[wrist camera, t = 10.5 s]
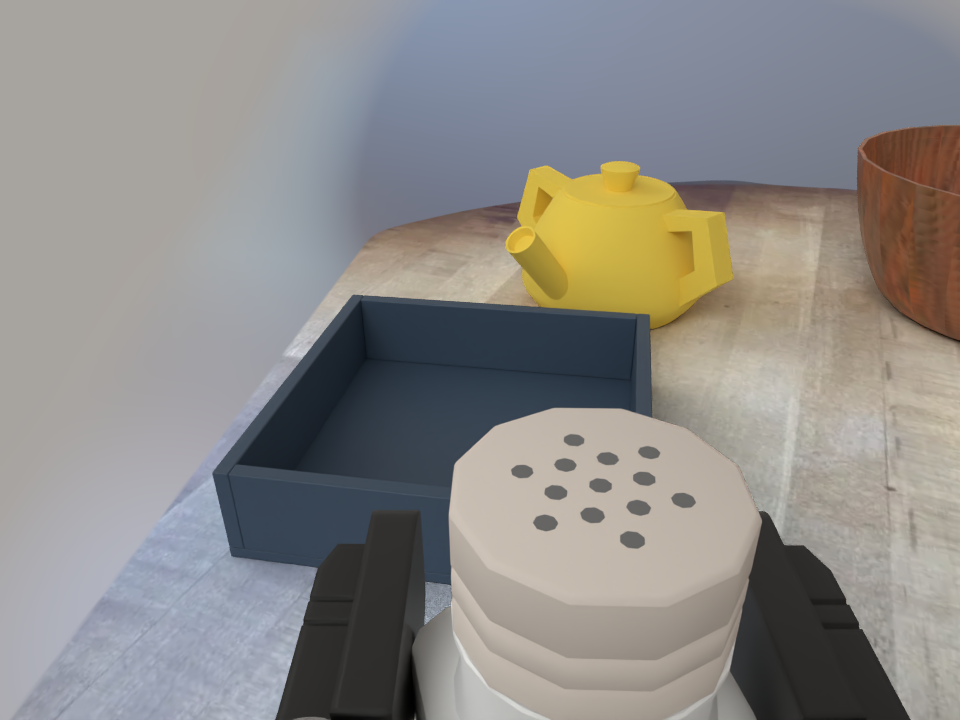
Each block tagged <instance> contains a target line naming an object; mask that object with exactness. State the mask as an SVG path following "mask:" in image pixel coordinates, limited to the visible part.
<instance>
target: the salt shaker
mask: <svg viewBox="0 0 960 720" xmlns="http://www.w3.org/2000/svg"><path fill="white" fill-rule="evenodd" d="M761 524H762V519H761V517H760V514H759V512H758V510H757V507H756V505H755V503H754V500H753V498H752V496H751V493H750V491H749V489H748V486H747V484H746V482H745V479H744V477H743V475H742V473H741V470H740V468H739V466H738V465H737V464H735V463H734V462H733V461H731V460H730V459H728V458H727V457H726V456H724V455H723V454H722V453H720V452H719V451H717V450H716V449H715V448H713V447H712V446H711V445H709V444H708V443H706V442H705V441H704V440H702V439H701V438H700V437H698V436H697V435H696V434H694V433H693V432H691V431H690V430H689V429H687V428H684V427H681V426H677V425H674V424H671V423H667V422H664V421H661V420H657V419H654V418H651V417H647V416H644V415H641V414H638V413H634V412H631V411H628V410H624V409H607V408H552V409H549V410H545V411H542V412H539V413H536V414H532V415H529V416H526V417H523V418H519V419H516V420H513V421H509V422H506V423H503V424H500V425H496V426H494V427H493V428H492V429H491V430H490V431H489V432H488V433H487V434H486V435H485V436H484V437H483V438H481V439H480V440H479V441H478V442H477V443H476V444H475V445H474V446H473V447H472V448H471V449H470V450H469V451H467V452H466V453H465V454H464V455H463V456H462V457H461V458H460V459H459V460H458V461H457V462H456V463H455V465H454V472H453V481H452V490H451V499H450V508H449V537H450V563H451V566H452V568H451V590H452V596H453V598H452V601H451V606H450V607H447V608H445V609H444V610H443V611H442V612H440V613H439V614H438V615H437V616H435V617H434V618H433V619H432V620H430V621H429V622H428V623H427V624H425V625H424V626H423V627H422V628H420V629H419V632H418V634H417V636H416V639H415V641H414V643H413V645H412V655H411V668H412V680H413V693H414V705H415V720H757V719H756V717H755V715H754V713H753V711H752V709H751V707H750V706H749V704H748V702H747V700H746V699H745V697H744V695H743V693H742V692H741V690H740V688H739V686H738V685H737V683H736V681H735V679H734V678H733V676H732V674H731V672H730V666H731V661H732V656H733V651H734V646H735V641H736V637H737V633H738V628H739V624H740V619H741V615H742V606H743V603H744V601H745V596H746V592H747V587H748V583H749V579H748V577H749V575H750V572H751V569H752V565H753V560H754V556H755V551H756V547H757V542H758V538H759V533H760V529H761Z"/></svg>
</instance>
